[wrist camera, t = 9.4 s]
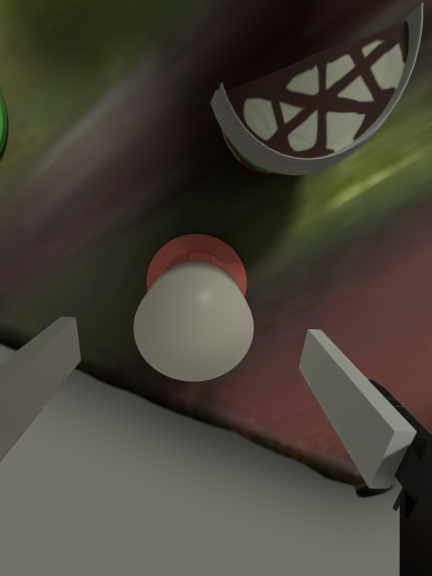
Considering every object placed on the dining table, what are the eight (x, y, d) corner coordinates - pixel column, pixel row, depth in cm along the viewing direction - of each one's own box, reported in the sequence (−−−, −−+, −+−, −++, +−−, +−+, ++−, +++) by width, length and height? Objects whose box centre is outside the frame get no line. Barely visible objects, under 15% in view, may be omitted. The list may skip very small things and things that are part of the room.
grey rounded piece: (154, 251, 21) (131, 270, 14) (242, 257, 22) (261, 278, 15) (154, 332, 23) (135, 380, 17) (233, 335, 24) (246, 382, 17)
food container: (227, 204, 24) (244, 199, 15) (207, 139, 22) (211, 86, 13) (343, 161, 24) (437, 128, 14) (332, 91, 22) (433, -2, 12)
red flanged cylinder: (147, 229, 25) (127, 236, 18) (251, 237, 25) (268, 246, 19) (148, 324, 28) (131, 359, 21) (239, 328, 29) (251, 363, 22)
